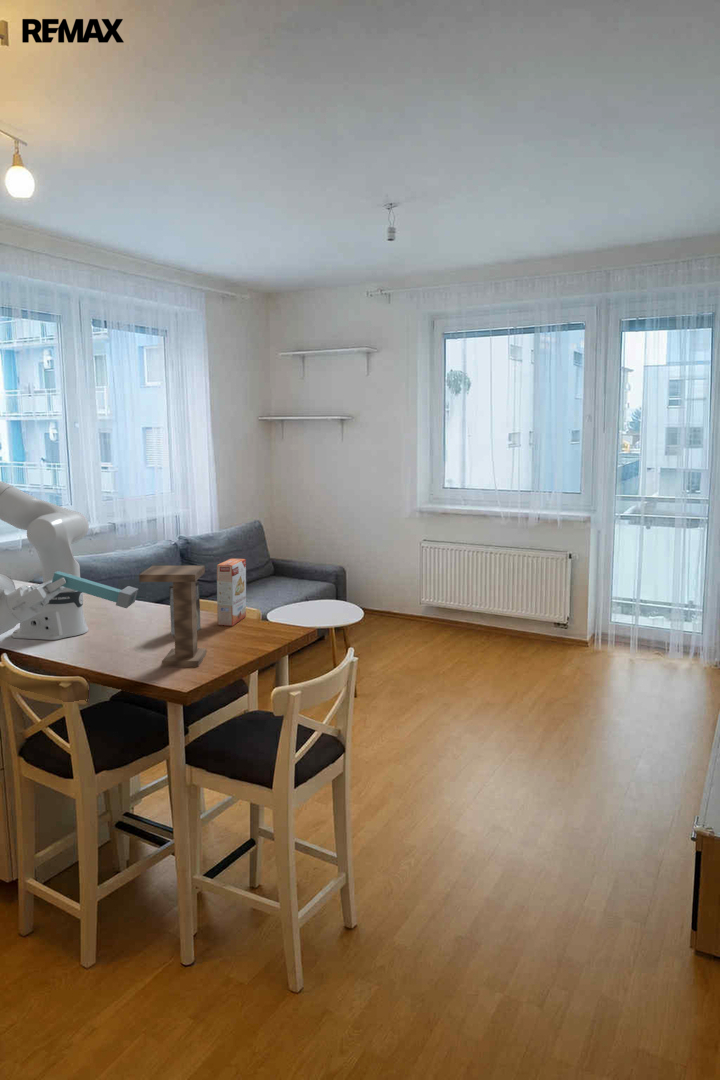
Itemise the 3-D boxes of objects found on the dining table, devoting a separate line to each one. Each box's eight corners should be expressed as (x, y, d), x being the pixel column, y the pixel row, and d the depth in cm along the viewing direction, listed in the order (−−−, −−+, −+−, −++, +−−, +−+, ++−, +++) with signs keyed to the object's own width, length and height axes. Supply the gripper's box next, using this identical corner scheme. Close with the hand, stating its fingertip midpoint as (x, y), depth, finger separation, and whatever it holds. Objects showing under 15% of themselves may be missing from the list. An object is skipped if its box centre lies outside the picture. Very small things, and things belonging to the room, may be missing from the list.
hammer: (48, 584, 199) (51, 571, 198) (59, 579, 207) (63, 566, 206) (126, 608, 200) (130, 594, 199) (134, 602, 208) (138, 588, 207)
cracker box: (234, 626, 243) (232, 565, 240) (216, 625, 244) (215, 564, 241) (247, 616, 257) (246, 558, 254) (231, 615, 258) (230, 557, 255)
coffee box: (183, 628, 241) (181, 580, 239) (201, 629, 240) (199, 581, 238) (170, 635, 233) (168, 585, 230) (189, 636, 231) (187, 586, 229)
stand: (142, 667, 200) (139, 574, 196) (155, 652, 213) (152, 565, 210) (197, 667, 200) (195, 574, 196) (207, 652, 214) (204, 565, 210)
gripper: (2, 600, 193) (46, 575, 192) (35, 585, 213) (75, 562, 212) (15, 620, 193) (60, 595, 193) (47, 603, 214) (87, 580, 213)
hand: (68, 578), depth 203 cm, fingers closed on hammer, 3 cm apart
